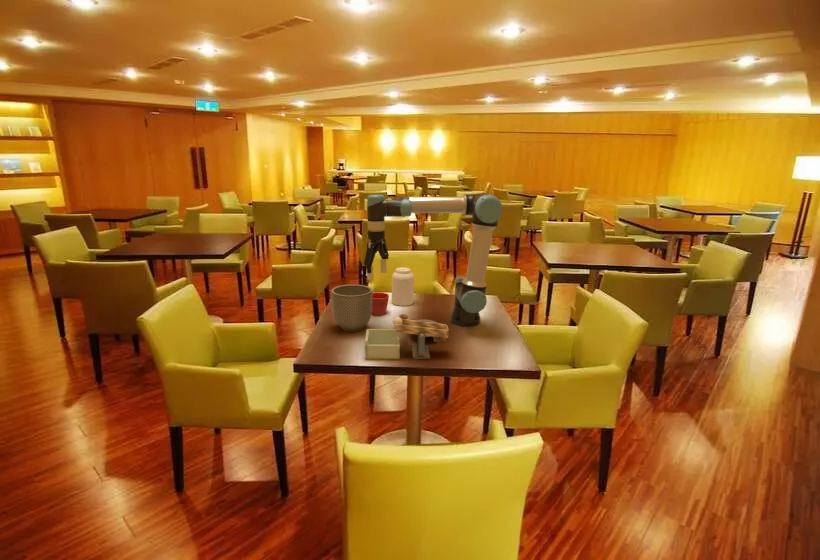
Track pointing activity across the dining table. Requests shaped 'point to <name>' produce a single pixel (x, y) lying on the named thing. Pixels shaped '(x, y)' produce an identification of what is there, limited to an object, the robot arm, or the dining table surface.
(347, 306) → the planter
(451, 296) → the dining table surface
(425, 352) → the stand
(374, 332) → the cream open box
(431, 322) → the dish
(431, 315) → the dining table surface
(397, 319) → the ball
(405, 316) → the lever
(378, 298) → the flower pot
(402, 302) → the white bottle
